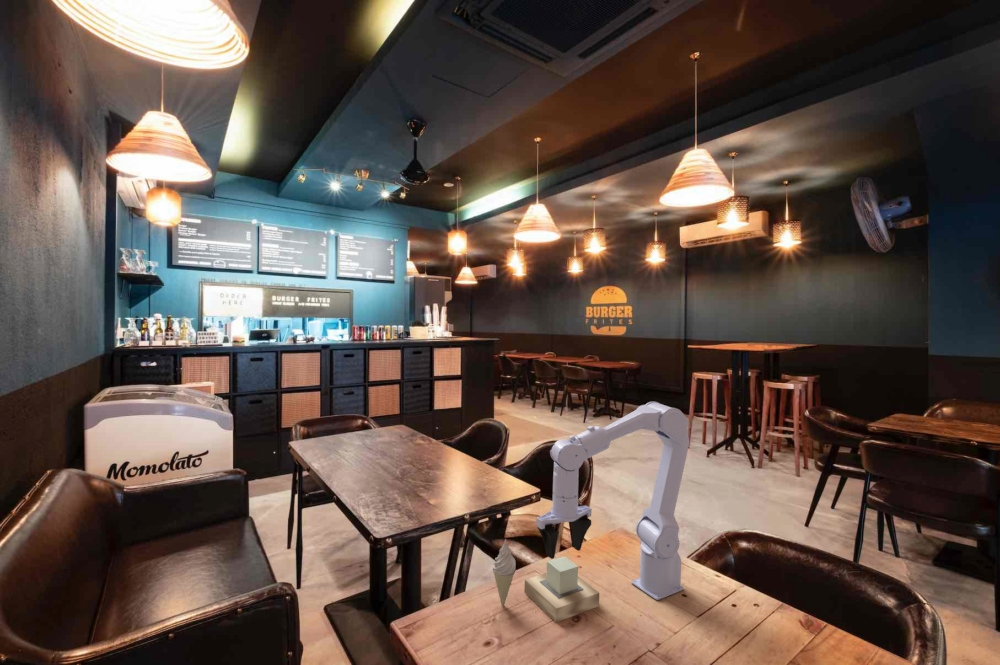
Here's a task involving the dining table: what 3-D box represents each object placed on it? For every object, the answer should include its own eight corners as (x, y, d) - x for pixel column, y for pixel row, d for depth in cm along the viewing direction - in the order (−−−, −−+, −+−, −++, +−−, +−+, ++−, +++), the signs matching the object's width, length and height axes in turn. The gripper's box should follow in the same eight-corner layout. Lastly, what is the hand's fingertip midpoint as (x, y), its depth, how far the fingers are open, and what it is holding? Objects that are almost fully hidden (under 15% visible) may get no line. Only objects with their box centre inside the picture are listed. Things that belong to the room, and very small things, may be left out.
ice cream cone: (512, 614, 97) (514, 545, 96) (489, 611, 98) (491, 542, 97) (516, 600, 101) (518, 534, 101) (494, 597, 102) (496, 532, 102)
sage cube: (563, 577, 106) (564, 556, 106) (577, 588, 101) (578, 566, 101) (546, 582, 103) (547, 561, 103) (559, 594, 99) (560, 572, 99)
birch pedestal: (565, 578, 111) (565, 566, 111) (599, 606, 101) (599, 591, 100) (524, 592, 105) (524, 578, 105) (556, 622, 94) (556, 607, 94)
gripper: (578, 483, 110) (576, 538, 110) (529, 493, 103) (527, 552, 103) (598, 492, 104) (596, 551, 104) (547, 504, 97) (545, 566, 97)
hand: (563, 552), depth 103 cm, fingers open, 7 cm apart
